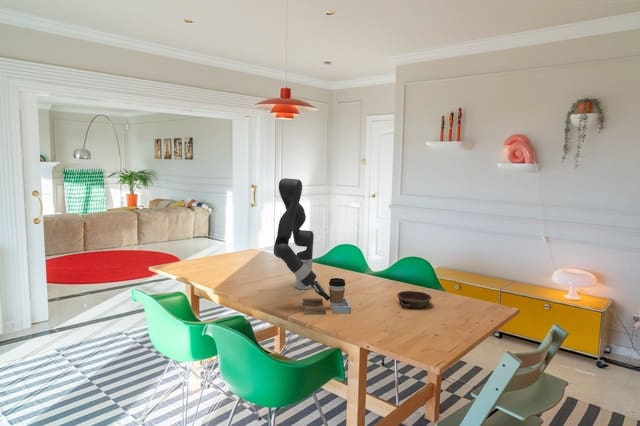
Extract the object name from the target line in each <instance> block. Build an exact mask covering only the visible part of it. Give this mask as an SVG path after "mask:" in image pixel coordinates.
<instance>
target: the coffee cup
mask: <svg viewBox="0 0 640 426" xmlns="http://www.w3.org/2000/svg"><path fill="white" fill-rule="evenodd" d="M328 285H329V288H328V289H329V290H328V291H329V293H328V294H329V297H330V299H329V308H330V310H332V311H333V307H344V306H343V305H344V304H343V298H345V296H344V295H345V290H346V288H345V287H346V280H345V279H343V278H340V277H333V278H330V279H329V282H328Z"/></svg>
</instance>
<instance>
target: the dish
mask: <svg viewBox="0 0 640 426" xmlns="http://www.w3.org/2000/svg"><path fill="white" fill-rule="evenodd" d="M396 296H397V298H398V301H399V303H400V306H401V308H404V309H405V308H411V309H422V308H425V307H426V308H427V307H428V306H429V304H430V301H431V300H432V295H430V294H428V293H426V292H423V291H413V290H405V291H400V292H398V293H397V294H396Z"/></svg>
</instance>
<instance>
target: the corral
mask: <svg viewBox="0 0 640 426" xmlns="http://www.w3.org/2000/svg"><path fill="white" fill-rule="evenodd" d="M343 305H344V306H342V307H333V310H332V314H351V313H352V306H351V304H350V302H349V299H348V298H347V297H344V298H343Z"/></svg>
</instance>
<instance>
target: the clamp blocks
mask: <svg viewBox="0 0 640 426" xmlns="http://www.w3.org/2000/svg"><path fill="white" fill-rule="evenodd" d="M323 302H324V299H323V298H322V297H320V298H319V297H310V298H309V297H303V298H302V305H303V306H304V309H303V310H304V311H303V312H304V315H326V314H327V313H326V312H327V311H326V307H325V306H323V305H324V304H323Z"/></svg>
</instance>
